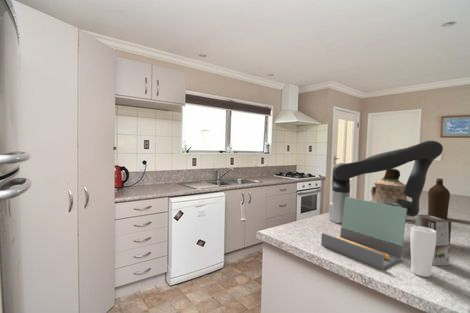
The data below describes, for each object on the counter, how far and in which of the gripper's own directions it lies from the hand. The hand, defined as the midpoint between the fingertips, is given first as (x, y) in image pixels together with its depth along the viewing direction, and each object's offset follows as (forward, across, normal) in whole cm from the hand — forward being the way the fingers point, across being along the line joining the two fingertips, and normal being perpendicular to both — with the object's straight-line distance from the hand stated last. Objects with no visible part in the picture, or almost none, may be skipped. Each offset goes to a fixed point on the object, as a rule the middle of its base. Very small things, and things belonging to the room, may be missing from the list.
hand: (372, 216), depth 100 cm
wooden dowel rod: (+9, 0, +12) cm, 15 cm away
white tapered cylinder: (+8, +20, +13) cm, 25 cm away
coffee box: (-8, +18, +13) cm, 24 cm away
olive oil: (-89, -2, +13) cm, 90 cm away
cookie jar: (-66, -21, +13) cm, 70 cm away
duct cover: (+1, 0, +1) cm, 2 cm away
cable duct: (+9, 0, +13) cm, 16 cm away
